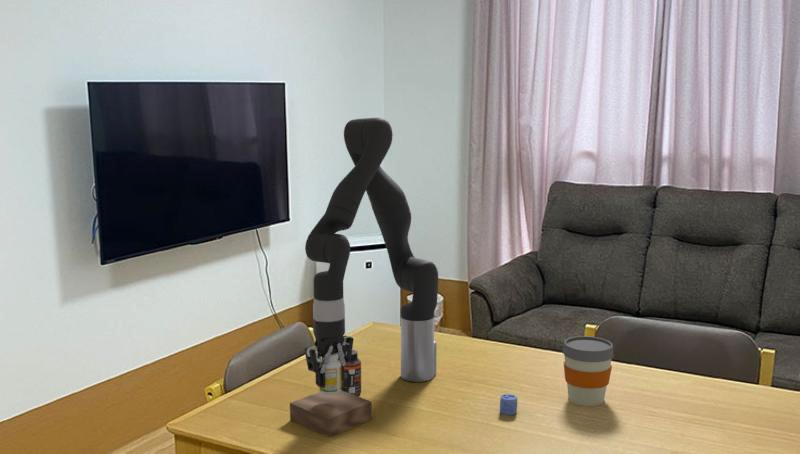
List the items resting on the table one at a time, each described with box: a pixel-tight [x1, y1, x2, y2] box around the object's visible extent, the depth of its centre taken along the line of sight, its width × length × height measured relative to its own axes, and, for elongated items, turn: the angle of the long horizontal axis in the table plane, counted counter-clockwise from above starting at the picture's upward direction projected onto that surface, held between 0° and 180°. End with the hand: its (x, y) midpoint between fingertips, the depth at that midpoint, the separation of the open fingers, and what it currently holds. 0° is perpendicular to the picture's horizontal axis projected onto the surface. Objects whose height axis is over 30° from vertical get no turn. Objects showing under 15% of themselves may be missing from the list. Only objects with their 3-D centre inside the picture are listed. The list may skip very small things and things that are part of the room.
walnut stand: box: [289, 390, 373, 438], centre depth 201 cm, size 14×14×4 cm
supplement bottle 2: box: [341, 349, 362, 396], centre depth 217 cm, size 6×6×11 cm
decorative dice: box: [499, 393, 518, 416], centre depth 206 cm, size 4×4×4 cm
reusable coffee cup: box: [562, 335, 614, 407], centre depth 212 cm, size 12×13×15 cm
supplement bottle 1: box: [318, 353, 341, 395], centre depth 200 cm, size 5×5×10 cm
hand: (330, 383), depth 200 cm, fingers closed on supplement bottle 1, 5 cm apart
